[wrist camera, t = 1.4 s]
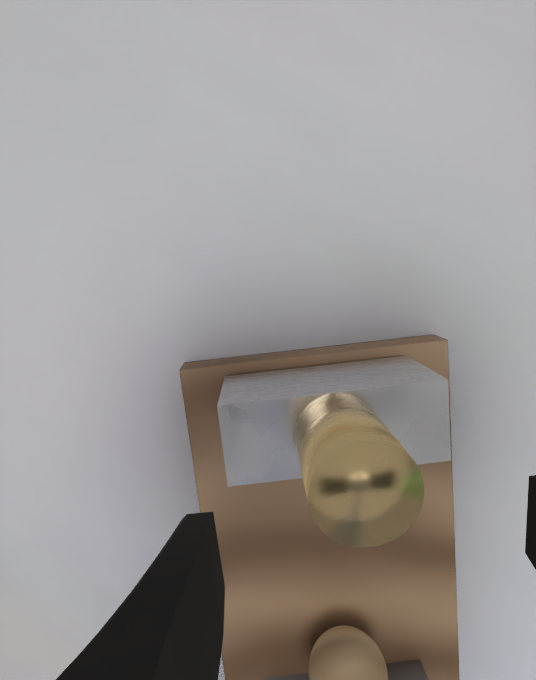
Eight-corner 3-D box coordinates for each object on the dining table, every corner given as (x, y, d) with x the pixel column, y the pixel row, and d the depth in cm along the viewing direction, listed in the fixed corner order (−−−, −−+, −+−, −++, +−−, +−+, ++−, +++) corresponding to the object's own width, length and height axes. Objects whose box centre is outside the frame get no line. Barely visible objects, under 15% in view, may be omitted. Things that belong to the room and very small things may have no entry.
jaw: (410, 420, 19) (520, 529, 11) (233, 440, 19) (218, 565, 11) (407, 355, 19) (520, 422, 11) (224, 376, 18) (203, 458, 11)
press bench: (447, 683, 24) (518, 836, 17) (235, 709, 24) (228, 873, 17) (433, 334, 20) (516, 365, 14) (184, 362, 20) (152, 407, 14)
